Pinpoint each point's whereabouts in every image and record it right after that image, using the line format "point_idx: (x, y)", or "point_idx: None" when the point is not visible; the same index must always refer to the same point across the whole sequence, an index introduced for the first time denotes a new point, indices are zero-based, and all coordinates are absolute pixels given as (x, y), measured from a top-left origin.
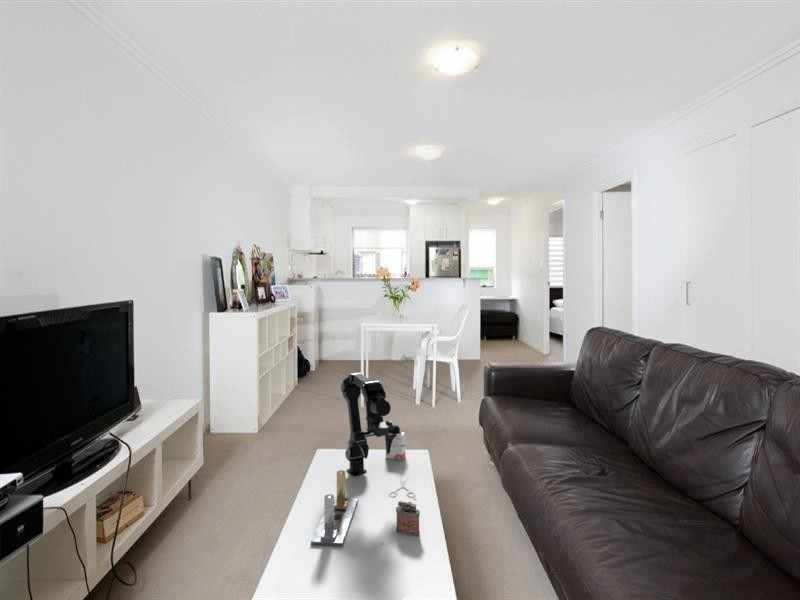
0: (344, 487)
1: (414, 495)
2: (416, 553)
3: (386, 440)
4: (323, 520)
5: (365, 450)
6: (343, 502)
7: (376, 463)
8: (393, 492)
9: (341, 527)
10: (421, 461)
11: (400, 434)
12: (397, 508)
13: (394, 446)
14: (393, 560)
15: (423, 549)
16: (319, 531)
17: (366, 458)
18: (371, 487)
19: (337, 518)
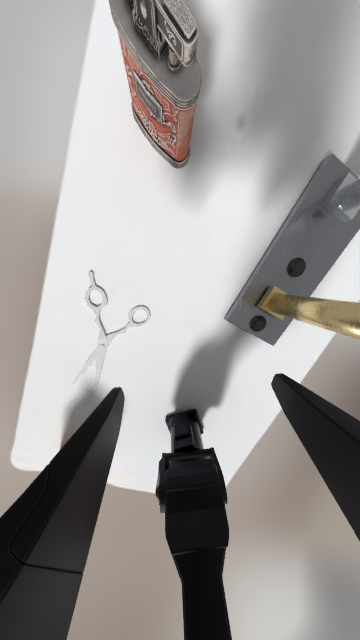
0: (313, 302)
1: (88, 290)
2: None
3: (74, 558)
4: (324, 267)
5: (347, 427)
6: (281, 295)
7: (133, 441)
8: (136, 323)
9: (305, 221)
10: (24, 424)
11: None
12: (194, 82)
13: None
14: (245, 21)
15: None
16: (350, 229)
17: (278, 374)
18: (176, 360)
19: (298, 260)
